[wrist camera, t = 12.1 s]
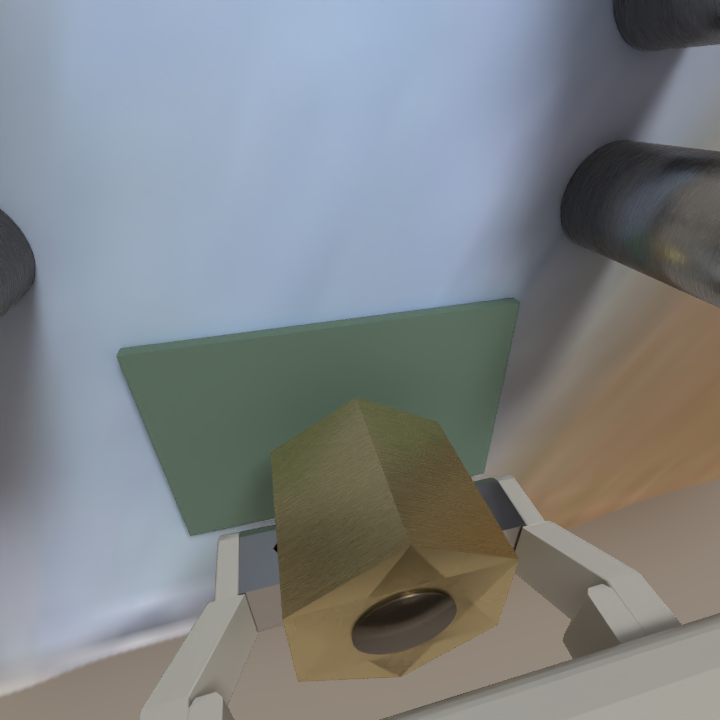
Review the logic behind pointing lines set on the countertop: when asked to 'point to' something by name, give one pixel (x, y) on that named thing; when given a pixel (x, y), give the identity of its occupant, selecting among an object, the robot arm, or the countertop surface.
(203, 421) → the rubber mat
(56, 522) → the countertop surface
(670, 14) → the spacer rows
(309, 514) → the brass nut
